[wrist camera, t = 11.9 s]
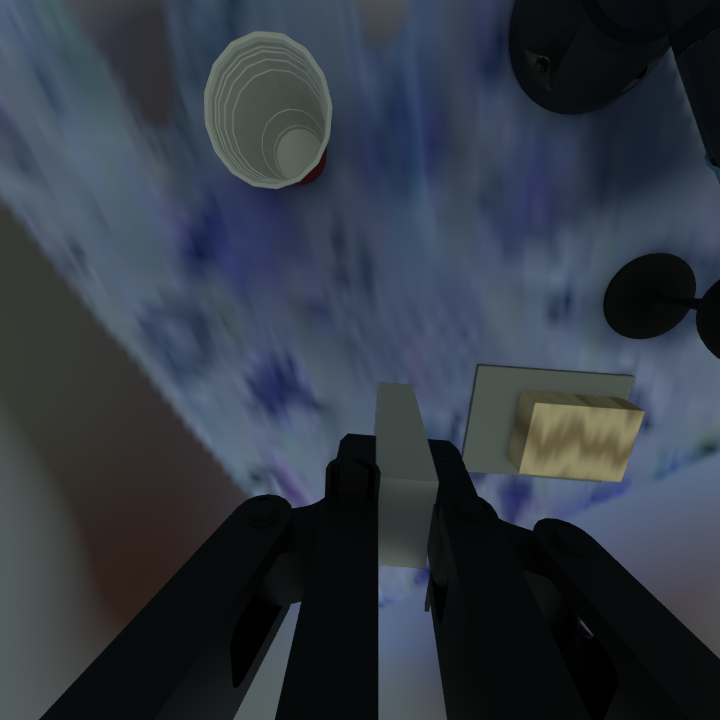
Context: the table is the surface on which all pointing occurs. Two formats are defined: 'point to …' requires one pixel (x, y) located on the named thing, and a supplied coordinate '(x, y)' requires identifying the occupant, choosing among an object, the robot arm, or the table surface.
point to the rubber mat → (500, 403)
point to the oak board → (573, 435)
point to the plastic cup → (268, 111)
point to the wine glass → (660, 300)
